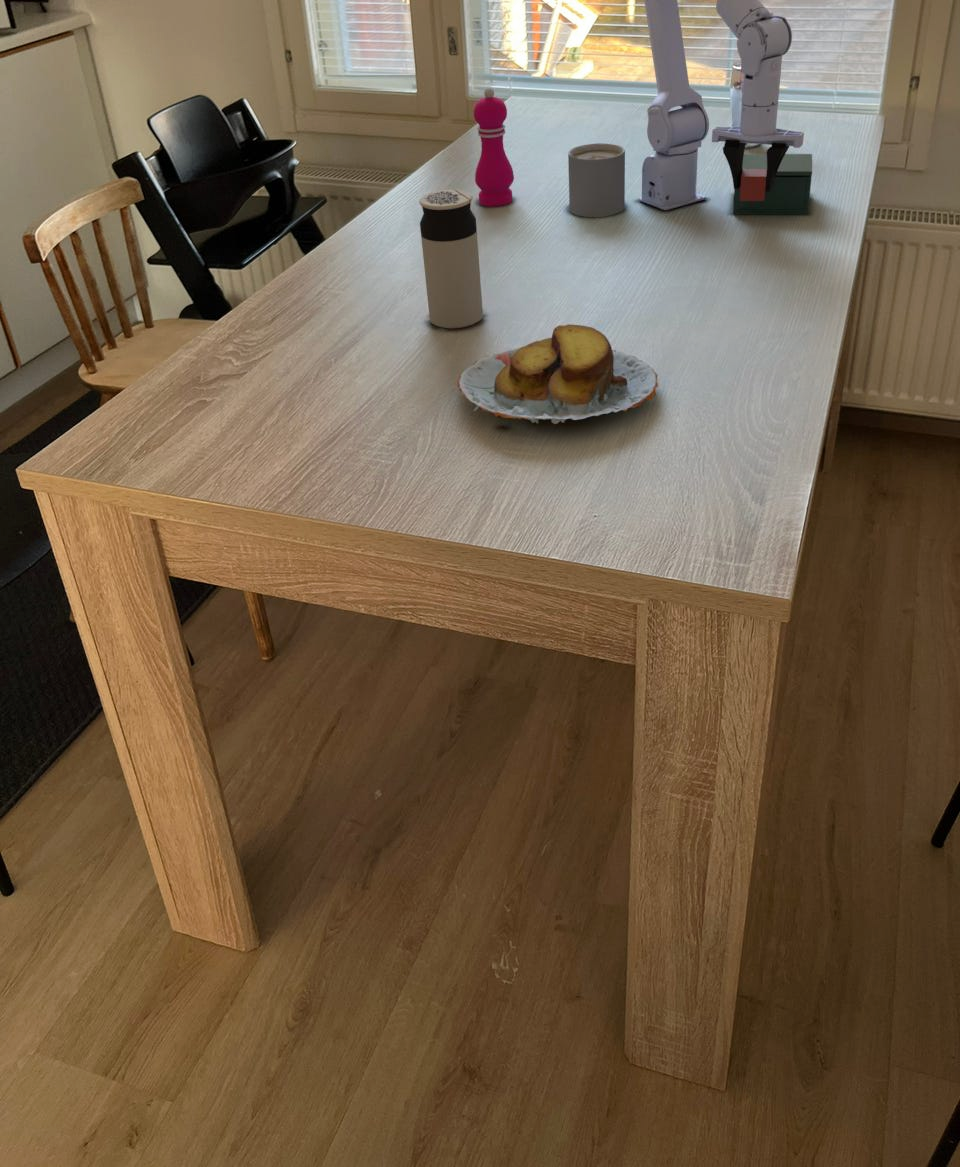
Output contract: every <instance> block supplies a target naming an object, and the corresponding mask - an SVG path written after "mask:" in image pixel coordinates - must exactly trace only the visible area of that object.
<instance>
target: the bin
mask: <svg viewBox="0 0 960 1167" xmlns="http://www.w3.org/2000/svg"><path fill="white" fill-rule="evenodd" d="M812 176H813V175H812ZM812 176H775V180H774V183H773V188H772V189H771V190H770V192H766V191H765V199H764V201H740V188H741V186H740V187H739V188H738V189H734V188H733V189H734V190H733V206H732V214H733V215H797V216H798V215H803V216H804V215H805V216H806V215H809V207H810V195H811V185H812Z"/></svg>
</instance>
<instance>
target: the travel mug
mask: <svg viewBox="0 0 960 1167" xmlns="http://www.w3.org/2000/svg"><path fill="white" fill-rule="evenodd" d="M472 201H473V195H472V193H471V192H468V191H465V190H462V189H442V190H441V189H440V190H437V191H436V190H435V191H432V192H429V193H427V194H425V195H423V196H421V197H420V198H419V203H418V204H419V205H420V206H421V208H422V212H423V214H422V217H421V219H420V222H419V228H420V229H419V230H420V238H421V239H420V240H421V248H422V259H423V267H424V278H425V286H426V296H427V306H428V316H429V322H430V323H431V324H433V325H434V326H437V327H440V328H442V329H452V330H453V329H463V328H467V327H470V326H473V325H474V324H476V323H478V322H480V321H481V320H482V319H483V316H484V311H483V298H482V283H481V282H482V281H481V270H480V269H481V268H480V258H479V255H480V254H479V243H478V228H477V218H476V216H475V214H474V213H473V211H472V210H471V207H472V206H471V204H472Z"/></svg>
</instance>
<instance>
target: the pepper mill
mask: <svg viewBox="0 0 960 1167" xmlns="http://www.w3.org/2000/svg"><path fill="white" fill-rule="evenodd" d="M483 94H484V97H483V98H481V99H479V100H477V102H476V103H475V105H474V107H473V119H474V120H475V122H476V123H477V124H478V127H477V135H478V137H479V138H480V142H481V151H480V155H479V156H480V157H479V159H478V162H477V166H476V168H475V172H474V175H475V176H474V182H475V184H476V186H477V187H478V189H480V191H479V192H478V202H479V204H480V205H481V206H484V207H490V208H491V207H492V208H493V207H503V206H507V205H508V204H510V203H512V201H513V190H512V189H511V188H510V187H511V186H512V184H513V183H514V181H515V174H514V170H513V166H512V164H511V162H510V161H509V159H508V156H507V154H506V151H505V148H504V135H505V134H506V129H505V128H506V125H505V124H504V122H505V121H506V119H507V117H508V109H507V105H506V103H505V102H504V101H503V100H502V99H501V98H499V97H497V96H494V95H495V90H494V89H493V88H492V87H487V88H485V89H484V92H483Z"/></svg>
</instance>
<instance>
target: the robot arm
mask: <svg viewBox="0 0 960 1167" xmlns="http://www.w3.org/2000/svg"><path fill="white" fill-rule="evenodd" d="M643 1H644V10H645V15H646V22H647V28H648V35H649V36H648V37H649V42H650V48H651V55H652V60H653V61H652V62H653V68H654V75H655V80H656V88H657V95H656V97H655V98H654V99H653V100H652V102H651V103H650V104H649V105H648V107H647V110H646V111H647V119H648V120H647V128H646V135H647V139H648V142H649V144H650V146H651V147H652V148H653V150H652V151H654V153H653V154H651V155H649V156H647V157H646V158H644V160H643V162H642V166H641V196H640V197H639V198H638V200H639V201H640V202H642V203H645V204H647V205H650V206H652V207H655V208H658V209H660V210H663V211H669V210H672V209H675V208H680V207H683V206H687V205H690V204H694V203H697V202H700V201H703V200H706V199H707V196H706V195H704V194H701V193H698V192H697V179H698V178H697V177H698V158H699V157H698V154H699V148H702V141H704V140H705V139H706V137H707V136H708V134H709V129H710V121H709V120H710V119H709V116H708V113H707V111H706V109H705V107H704V106H705V105H704V102H703V96H702V95H701V94H700V93H699V92H697V91H696V90H694V88H692V87H691V86H690V81H689V74H688V67H687V58H686V51H685V46H684V37H683V31H682V25H681V24H682V23H681V18H680V10H679V2H678V0H643ZM715 10H716V13H717V15H719V17H720V18H721V19H722V21H723V22H724V24H725V25H726V26H727V27H728V29H729V30H730V31H731V33H732V34H733V35H734V37H736V39H737V40H736V48H737V53H738V56H739V59H740V62H741V69H742V73H744V74H743V90H742V103H741V118H740V127H732V126H715V127H714V128H713V129H712V132H711V143H719V142H723V143H724V146H723V147H722V153H723V155H724V157H725V159H726V161H727V163H728V166H729V170H730V173H731V178H732V184H733V189H738V188H739V187H740V186H741V175H742V165H743V156H744V154H745V149H746V148H745V144H746V143H753V144H759V145H771V146H769V147H768V148H767V149H766V154H767V176H766V186H765V191H766V192H770V190H771V189H772V188H773V183H774V180H775V176H776V173H777V171H778V168H779V166H780V164H781V161H782V159H783V157H784V155H785V154H787V152H788V150H789V148H790V147H793V148H795V149H797V148H798V149H800V148H801V147H803V144H804V135H805V132H804V131H795V130H789V129H783V128H778V127H777V121H778V109H779V99H780V98H779V97H780V88H781V87H780V86H781V74H782V63H783V56H784V55H786V53H787V52H788V51H789V50H790V48H791V47H792V46H791V45H792V40H793V32H792V28H791V25H790V23H789V22H788V20H787V18H786V17H785V16H783V15H781V14H779V15H778V14H777V15H776V14H774V13H773V12H770V11H769V10H768V8H767V7H766V6H764V4H763V3H762V2H761V1H760V0H716V3H715ZM677 107H680V108H677ZM673 108H677V109H674V110H672V109H673Z"/></svg>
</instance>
